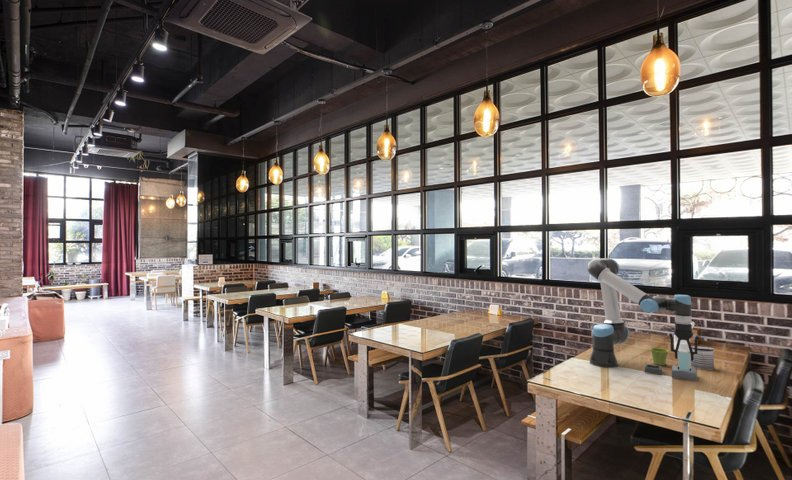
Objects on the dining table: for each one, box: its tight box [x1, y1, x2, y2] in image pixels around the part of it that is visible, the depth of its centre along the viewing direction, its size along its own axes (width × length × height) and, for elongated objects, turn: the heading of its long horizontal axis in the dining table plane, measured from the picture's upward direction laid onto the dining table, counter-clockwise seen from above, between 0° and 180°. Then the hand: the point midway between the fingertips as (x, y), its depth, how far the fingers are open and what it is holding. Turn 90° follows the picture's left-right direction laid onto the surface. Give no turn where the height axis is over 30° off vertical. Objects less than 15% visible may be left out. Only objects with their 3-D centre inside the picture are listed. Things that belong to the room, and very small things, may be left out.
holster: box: [644, 363, 663, 376], centre depth 231 cm, size 8×8×3 cm
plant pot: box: [649, 347, 669, 366], centre depth 246 cm, size 9×9×9 cm
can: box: [691, 345, 715, 371], centre depth 240 cm, size 11×11×12 cm
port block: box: [671, 365, 698, 382], centre depth 223 cm, size 11×11×4 cm
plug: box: [678, 350, 690, 371], centre depth 223 cm, size 4×4×13 cm
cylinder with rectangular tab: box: [673, 335, 691, 353], centre depth 276 cm, size 9×9×12 cm
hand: (684, 365), depth 223 cm, fingers closed on plug, 4 cm apart
